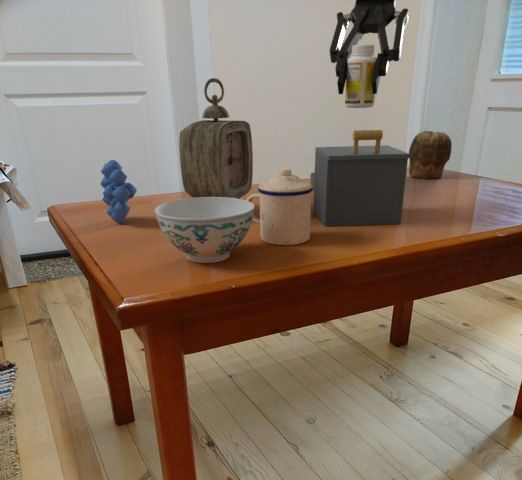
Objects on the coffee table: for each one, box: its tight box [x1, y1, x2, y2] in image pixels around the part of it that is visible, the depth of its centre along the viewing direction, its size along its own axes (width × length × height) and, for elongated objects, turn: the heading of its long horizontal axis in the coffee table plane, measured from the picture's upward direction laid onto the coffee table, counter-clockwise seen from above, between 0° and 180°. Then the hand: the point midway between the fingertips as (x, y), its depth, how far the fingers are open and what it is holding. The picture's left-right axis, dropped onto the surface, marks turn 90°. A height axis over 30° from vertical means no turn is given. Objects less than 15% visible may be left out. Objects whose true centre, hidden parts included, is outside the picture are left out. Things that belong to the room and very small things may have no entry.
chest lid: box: [314, 129, 410, 161], centre depth 95 cm, size 13×15×5 cm
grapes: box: [99, 159, 138, 224], centre depth 98 cm, size 12×7×12 cm, turn 30°
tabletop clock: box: [178, 77, 254, 199], centre depth 100 cm, size 14×9×25 cm, turn 155°
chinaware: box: [154, 197, 256, 264], centre depth 78 cm, size 15×15×8 cm
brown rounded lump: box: [408, 130, 453, 180], centre depth 139 cm, size 11×11×12 cm
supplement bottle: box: [344, 44, 377, 109], centre depth 95 cm, size 6×6×10 cm
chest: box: [312, 151, 409, 227], centre depth 99 cm, size 13×15×12 cm
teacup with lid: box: [245, 167, 313, 246], centre depth 86 cm, size 12×9×12 cm
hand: (357, 88), depth 93 cm, fingers closed on supplement bottle, 6 cm apart
